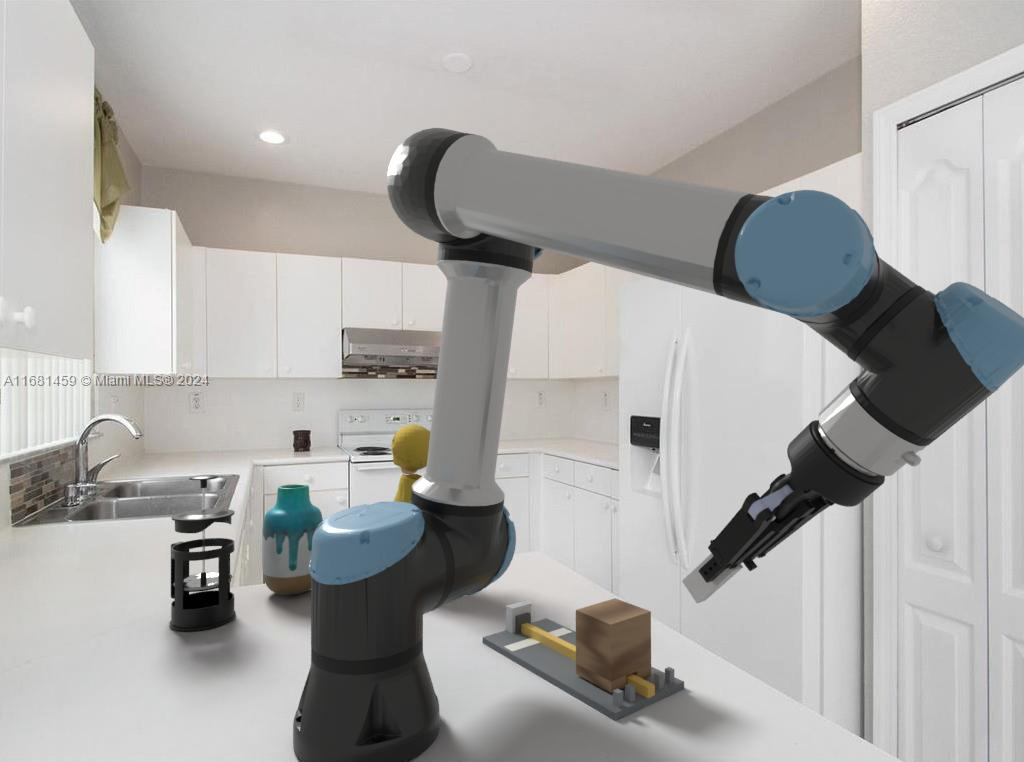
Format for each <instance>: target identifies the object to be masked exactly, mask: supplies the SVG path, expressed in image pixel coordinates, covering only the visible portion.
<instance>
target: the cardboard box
mask: <svg viewBox="0 0 1024 762" xmlns="http://www.w3.org/2000/svg"><path fill="white" fill-rule="evenodd" d="M651 617H652V611H650V610H648V609H645V608H642V607H640V606H638V605H634V604H632V603H630V602H627V601H625V600H621V599H618V598H615V597H614V598H612V599H608V600H605V601H602V602H601V601H600V602H598V603H593V604H591V605H588V606H584V607H581V608H577V609H575V632H576V674H577V675H579V676H581V677H583V678H585V679H586V680H588V681H590V682H592V683H594V684H596V685H598V686H599V687H601V688H603V689H605V690H607V691H609V692H610V693H612V692H613V690H616V689H622V688H624V687H625V685H626V675H629V674H631V673H632V674H634V675H636V676H638V677H640V678H642V679H645V678H647V677H650V676H651V667H652V618H651Z"/></svg>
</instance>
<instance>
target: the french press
mask: <svg viewBox="0 0 1024 762" xmlns="http://www.w3.org/2000/svg"><path fill="white" fill-rule="evenodd" d="M215 479H219V476H218V475H215V474H200V475H199V474H198V475H194V476H190V477H189V478H188V480H190V481H199V484H200V489H202V493H201V495H202V507H201V509H195V510H188V511H182V512H179V513H176V514H173V515H172V516H171V520H172V521H174V532H176V533H180V534H198V533H201V532H202V533H201V538H199V539H192V540H188V541H177V542H174V543H171V545H170V598H171V599H173V601H172V602H171V605H170V606H171V607H170V609H171V610H170V611H171V612H170V614H171V615H170V621H169V628H170V629H171V630H172V631H175V632H184V633H191V632H192V633H193V632H195V633H196V632H203V631H209V630H212V629H213V630H214V629H216V628H219V627H223V626H225V625H227V624H229V623H231V622H232V621H234V619H236V616H237V613H236V610H235V593H233V592H231V581H232V579H233V575H232V573H231V554H232V553H234V552H235V541H234V540H233V539H231V538H226V537H225V538H224V537H212V538H211V537H209V538H206V529H207V528H209V527H210V526H211V525H212V524H214V523H225V524H229V525H232V517H233V516H234V515H235V511H234V510H232V509H229V508H206V489H207V488H208V480H209V481H210V480H215ZM206 547H207V548H208V547H220V548H216V549H211V550H206ZM198 548H202V549H201V551H190V550H192V549H198ZM216 558H217V559H218V571H217V572H216V571H212V572H206V569H205V568H206V565H205V564H206V560H211V559H216ZM193 561H201V563H202V565H201V566H202V568H201V572H200V573H195V574H191V575H190V562H193Z"/></svg>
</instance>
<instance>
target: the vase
mask: <svg viewBox="0 0 1024 762" xmlns="http://www.w3.org/2000/svg"><path fill="white" fill-rule="evenodd" d="M276 495H277V496H276V502H275V505H274V507H272V508H270V509H269V510H268V511H267V512H266V513H265V515H264V518H263V522H262V523H263V524H262V528H261V529H262V531H261V567H262V577H263V580H264V581H263V582H265V585H266V587H267V588H268V589H269V590H270V592H273V593H275V594H278V595H283V596H287V595H288V596H289V595H298V594H302V593H305V592H308V591H309V590H310V591H311V574H310V572H309V563H310V559H311V553H312V538H313V535H314V532H315V530H316V528H317V526H318V525H319V524H320V523H321V522H322V521H323V520H324V519H323V515H322V511H321V509H320V508H319V507H317V506H316V505H314V504H312V502H311V498H310V486H309V484H304V483H292V484H289V483H288V484H283V485H279V486H278V487H277V493H276Z"/></svg>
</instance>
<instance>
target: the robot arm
mask: <svg viewBox="0 0 1024 762" xmlns="http://www.w3.org/2000/svg"><path fill="white" fill-rule="evenodd" d="M386 178H387V179H386V186H387V193H388V199H389V201H390V204H391V207H392V209H393V210H394V212H395V214H396V215H397V217H398V219H399V220H400V221H401V222H402V223H403V224H404V225H405V226H406V227H407V228H408V229H410V230H411V231H412V232H413V233H414V234H417V235H419V236H420V237H423V238H425V239H427V240H430V241H433V242H436V243H438V247H437V256H436V257H437V258H436V259H437V260H436V266H437V268H438V269H439V270H440V271H441V272H442V274H443V275H444V276H445V278H446V283H447V285H446V291H445V301H444V309H443V316H442V317H443V318H442V327H441V335H440V342H439V343H440V346H439V354H438V361H437V363H438V364H437V369H436V370H437V371H436V380H435V390H434V399H433V406H432V407H433V409H432V415H431V425H430V441H429V450H428V459H427V466H426V467H425V468H426V470H425V472H424V474H423V475H421V476H422V477H421V478H420V479H418V480H417V481H416V482H415V483H413V485H412V491H411V501H410V503H406V502H393V501H379V502H378V501H377V502H374V503H372V504H360V505H355V506H352V507H347V508H345V509H342V510H340V511H337V512H335V513H332V514H331V515H329V516H327V517H325V518H324V519H323V521H322V522H321V523H320V524H319V525H318V526H317V528H316V530H315V532H314V535H313V538H312V553H311V559H310V563H309V572H310V574H311V589H310V594H311V595H310V603H311V604H310V646H311V647H310V648H311V649H310V651H311V652H310V654H311V655H310V657H311V658H310V668H309V670H308V674H307V676H306V680H305V683H304V687H303V689H302V692H301V695H300V699H299V702H298V707H297V709H296V712H295V715H294V719H293V722H292V745H293V746H292V748H293V751H294V753H295V755H296V757H297V758H298V759H299V760H300V761H301V762H408V761H409V762H410V760H412V759H414V758H416V757H418V756H419V755H420V754H422V753H423V752H424V751H426V750H427V749H428V748H429V747H430V746H431V745H432V743H433V742H434V741H435V740H436V738H437V736H438V734H439V730H440V702H439V698H438V696H437V694H436V691H435V688H434V684H433V680H432V677H431V675H430V671H429V668H428V664H427V662H426V659H425V656H424V640H423V639H424V638H423V637H424V615H425V614H428V613H430V612H432V611H434V610H436V609H438V608H441V607H443V606H445V605H448V604H450V603H452V602H455V601H457V600H459V599H461V598H463V597H466V596H471V595H474V594H477V593H479V592H481V591H483V590H484V589H486V588H487V587H489V586H490V585H491V584H493V583H495V582H496V581H498V580H499V579H500V578H502V576H503V575H504V573H506V572H507V570H508V569H509V567H510V565H511V562H512V561H513V560H514V559H513V558H514V555H515V551H516V546H517V536H516V535H517V533H516V531H517V530H516V527H515V523H514V521H513V520H511V519H510V515H511V514H510V512H509V510H508V508H507V507H506V506H505V499H506V498H505V495H506V494H505V492H504V490H502V488H501V487H500V486H499V485H498V483H497V481H496V470H497V461H498V455H499V453H498V452H499V446H500V437H501V429H502V428H501V427H502V419H503V411H504V404H505V403H504V402H505V397H506V396H505V395H506V387H507V378H508V371H509V362H510V353H511V347H512V338H513V331H514V329H513V328H514V321H515V313H516V305H517V296H518V291H519V288H520V287H521V286H522V285H523V284H524V283H526V282H527V281H529V279H531V278H532V275H533V268H534V261H536V260H537V259H538V258H539V257H540V256H542V254H543V251H544V250H545V251H549V252H554V253H557V254H561V255H565V256H567V257H568V256H569V257H573V258H576V259H580V260H584V261H587V262H591V263H594V264H599V265H602V266H606V267H609V268H613V269H617V270H621V271H625V272H629V273H633V274H636V275H641V276H645V277H648V278H652V279H655V280H659V281H663V282H666V283H670V284H675V285H679V286H682V287H686V288H689V289H693V290H697V291H701V292H703V293H704V292H705V293H708V294H712V295H714V296H715V295H716V296H718V297H719V296H720V297H723V298H725V299H728V300H731V301H735V302H739V303H743V304H746V305H751V306H754V307H757V308H761V309H765V310H769V311H771V312H776V313H780V314H783V315H786V316H788V317H791V318H793V319H795V320H797V321H799V322H801V323H803V324H805V325H806V326H808V327H809V328H811V329H812V330H813V331H815V332H816V333H817V334H819V335H820V336H821V337H822V338H824V339H825V340H826V341H828V342H829V343H830V344H831V345H833V346H834V347H836V348H837V349H838V350H839V351H841V352H842V353H843V354H845V355H846V356H847V358H848V359H849V360H851V361H853V362H855V363H856V364H858V365H859V366H860V367H861V368H862V371H861V372H860V374H858V375H857V376H856V377H855V378H854V379H853V380H852V381H851V382H849V384H847V385H846V386H845V387H844V388H843V389H842V390H841V391H840V392H839V393H838V394H837V395H836V396H835V397H834V398H833V399H832V400H830V402H829V403H828V404H826V406H825V407H824V408H822V410H821V411H820V412H819V413H818V417H817V420H812V421H810V422H809V424H808V425H807V426H806V427H804V428H803V429H802V430H801V431H800V432H799V433H798V435H796V436H795V437H794V438H793V439H792V440H791V441H790V442H789V444H788V446H787V453H786V454H787V458H788V460H789V463H790V467H791V468H790V473H789V472H788V473H787V474H786V473H780V475H778V476H777V477H776V478H775V479H773V481H771V483H770V484H769V487H768V489H767V490H766V491H765V492H764V493H763V494H761V496H760V495H759V494H758V493H757V492H752V493H750V494H748V495H747V497H745V499H744V501H743V503H742V506H741V507H740V509H739V510H738V511H737V512H736V513H735V515H734V516H732V518H731V520H730V521H729V522H728V523H727V524H726V525H725V526H724V528H723V529H722V530H721V531H720V532H719V534H717V536H716V537H715V538H714V539H711V540H710V541H709V542H710V544H709V545H708V546H707V548H708V550H709V552H710V554H709V555H708V556H707V557H706V558H705V559H703V560H702V561H701V562H700V564H698V565H697V566H696V567H695V568H694V569H693V570H692V571H691V572H689V574H688V575H687V576H685V577H684V579H682V581H681V582H682V583H683V585H684V587H685V588H686V590H687V591H688V593H689V594H690V595H691V597H692V599H693V600H694V602H695V603H696V604H700V603H703V602H705V601H707V600H708V599H709V598H710V597H711V596H712V595H713V594H715V593H716V592H717V591H718V590H719V589H720V588H722V586H724V585H725V584H726V583H727V582H728V581H729V580H731V579H732V578H733V577H735V575H737V573H739V572H740V570H742V569H743V568H744V567H743V565H742V563H743V564H744V565H745V567H746V568H747V570H748V571H749V572H751V571H753V570H755V569H757V568H758V565H757V564H756V562H755V561H754V560H755V559H756V558H758V559H761V558H764V557H766V556H767V554H768V553H770V552H771V551H772V550H774V548H776V547H778V546H779V545H780V544H781V543H782V542H784V541H785V540H787V538H789V537H790V536H792V535H793V534H794V533H796V531H798V530H799V529H800V528H801V527H803V526H804V525H806V524H808V522H809V521H812V519H813V518H814V517H816V516H818V515H819V514H820V513H822V512H823V511H826V509H828V508H829V507H830V506H834V505H838V506H840V507H841V506H842V507H847V508H849V507H850V508H851V507H856V506H858V505H860V504H861V503H862V502H863V501H865V499H867V498H868V497H869V496H870V495H871V494H873V493H874V492H875V491H876V490H878V489H879V488H880V487H881V486H882V485H884V484H885V480H886V478H885V477H890V476H893V475H894V474H895V473H897V472H898V471H899V470H900V469H902V468H903V467H904V466H905V465H907V464H908V466H911V467H917V466H918V465H920V463H921V461H922V458H921V457H920V456H919V455H918V454H917V453H918V452H920V451H923V450H924V449H925V448H927V446H929V445H931V444H932V443H933V442H935V441H936V440H937V439H938V438H939V437H941V436H942V435H943V434H944V433H946V432H947V431H948V430H950V429H951V428H952V427H953V426H955V424H957V423H958V422H959V421H961V419H963V418H964V417H965V416H967V415H968V414H969V413H970V412H971V411H973V410H974V409H975V408H977V407H978V406H979V405H980V404H982V403H983V402H984V401H985V400H986V399H988V398H989V397H990V396H991V395H992V394H993V393H996V392H997V391H999V388H1001V387H1002V386H1003V385H1004V384H1005V383H1007V381H1008V380H1009V379H1010V378H1011V377H1013V375H1014V374H1016V373H1017V372H1018V371H1020V369H1021V368H1022V367H1023V366H1024V317H1023V316H1022V315H1020V314H1019V313H1018V312H1016V310H1013V309H1012V308H1010V307H1009V306H1008V305H1006V304H1005V303H1003V302H1002V301H1000V300H998V299H997V298H996V297H993V296H991V295H990V294H987V293H986V292H985V291H983V290H982V289H980V288H978V287H976V286H974V285H972V284H970V283H967V282H964V281H956V282H953V283H951V284H950V285H948V286H947V287H946V288H944V289H942V290H939V291H938V292H937V293H936V294H935V293H933V292H931V290H927V289H925V288H924V287H923V286H921V285H918V284H917V283H915V282H913V281H912V280H911V279H909V278H908V277H907V276H905V275H904V274H903V273H901V272H900V271H899V270H897V269H896V268H894V266H892V265H890V264H889V263H888V262H886V261H885V260H884V259H883V258H881V257H880V256H879V254H878V251H877V249H876V247H875V246H876V245H875V243H874V237H873V234H872V233H871V229H870V228H869V226H868V224H867V223H866V222H865V220H864V218H863V217H862V216H861V215H860V213H859V212H858V211H857V210H856V209H853V208H851V207H850V206H849V205H848V204H847V203H846V202H845V201H843V200H842V199H840V198H839V197H838V196H835V195H833V194H830V193H828V192H824V191H821V190H815V189H801V190H795V191H794V190H793V191H789V192H784V193H782V194H780V195H777V196H770V195H760V194H754V193H750V192H744V191H740V190H739V191H738V190H733V189H727V188H722V187H716V186H715V187H714V186H709V185H703V184H697V183H691V182H686V181H685V182H684V181H680V180H675V179H670V178H662V177H659V176H658V177H657V176H650V175H645V174H639V173H634V172H627V171H622V170H617V169H610V168H605V167H597V166H592V165H589V164H581V163H576V162H575V163H574V162H570V161H569V162H568V161H563V160H559V159H551V158H546V157H540V156H533V155H528V154H521V153H517V152H512V151H505V150H498V149H497V147H496V146H495V144H494V143H493V142H492V140H490V139H488V138H487V137H485V136H482V135H478V134H474V133H468V132H463V131H457V130H452V129H447V128H443V127H442V128H441V127H432V128H426V129H421V130H420V131H417V132H414V133H412V134H411V135H410V136H408V137H407V138H405V139H404V140H403V141H402V143H401V144H400V145H399V146H398V147H397V149H396V150H395V152H394V154H392V158H391V160H390V163H389V165H388V169H387V175H386Z"/></svg>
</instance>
